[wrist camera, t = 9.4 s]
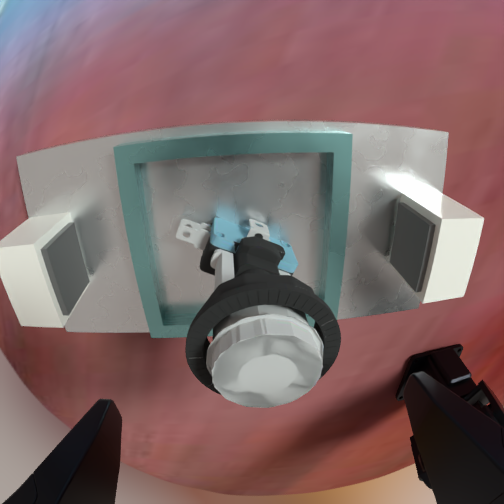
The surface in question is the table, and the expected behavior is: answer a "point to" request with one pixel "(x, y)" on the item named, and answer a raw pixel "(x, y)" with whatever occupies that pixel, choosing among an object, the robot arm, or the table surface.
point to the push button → (256, 318)
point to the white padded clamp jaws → (402, 257)
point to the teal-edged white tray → (233, 211)
